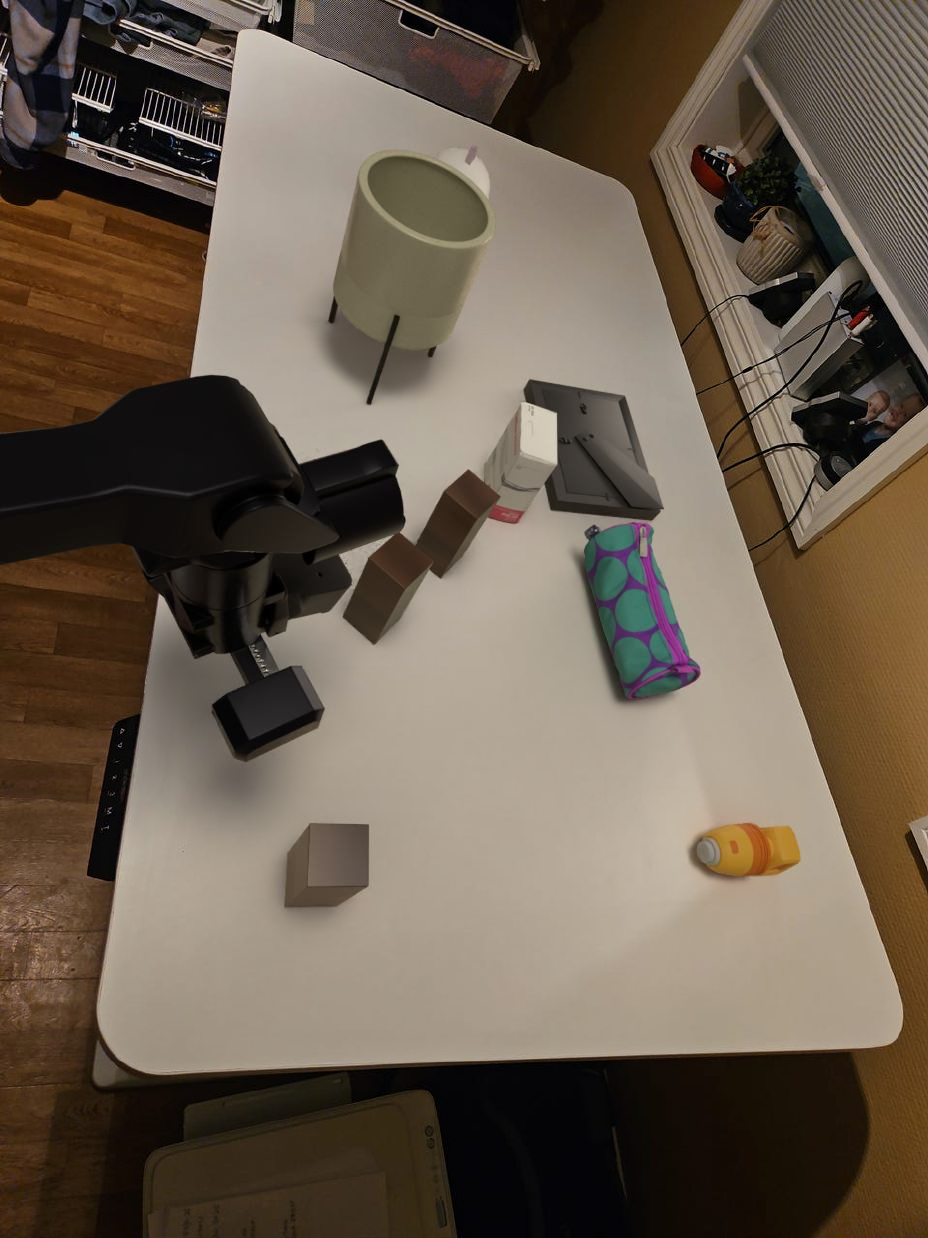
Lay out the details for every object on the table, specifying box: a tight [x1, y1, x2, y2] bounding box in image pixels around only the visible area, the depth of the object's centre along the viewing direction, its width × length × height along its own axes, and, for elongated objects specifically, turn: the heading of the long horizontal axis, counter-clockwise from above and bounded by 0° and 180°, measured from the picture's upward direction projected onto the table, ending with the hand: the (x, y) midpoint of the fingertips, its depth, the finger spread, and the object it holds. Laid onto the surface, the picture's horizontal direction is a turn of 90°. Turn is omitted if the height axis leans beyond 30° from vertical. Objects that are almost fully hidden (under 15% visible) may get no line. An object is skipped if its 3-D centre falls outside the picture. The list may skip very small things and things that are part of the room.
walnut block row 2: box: [414, 469, 501, 579], centre depth 79 cm, size 4×4×12 cm
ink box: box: [483, 401, 557, 524], centre depth 87 cm, size 9×5×12 cm, turn 176°
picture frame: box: [523, 378, 665, 521], centre depth 99 cm, size 16×3×21 cm
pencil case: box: [583, 521, 702, 700], centre depth 84 cm, size 21×9×10 cm, turn 11°
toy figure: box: [696, 822, 801, 877], centre depth 77 cm, size 5×6×12 cm
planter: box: [327, 149, 497, 405], centre depth 85 cm, size 15×16×23 cm
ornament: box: [432, 144, 491, 199], centre depth 110 cm, size 10×10×12 cm
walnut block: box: [342, 532, 434, 645], centre depth 72 cm, size 4×4×12 cm
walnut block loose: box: [284, 822, 370, 908], centre depth 58 cm, size 4×4×12 cm
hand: (221, 666), depth 55 cm, fingers open, 9 cm apart
